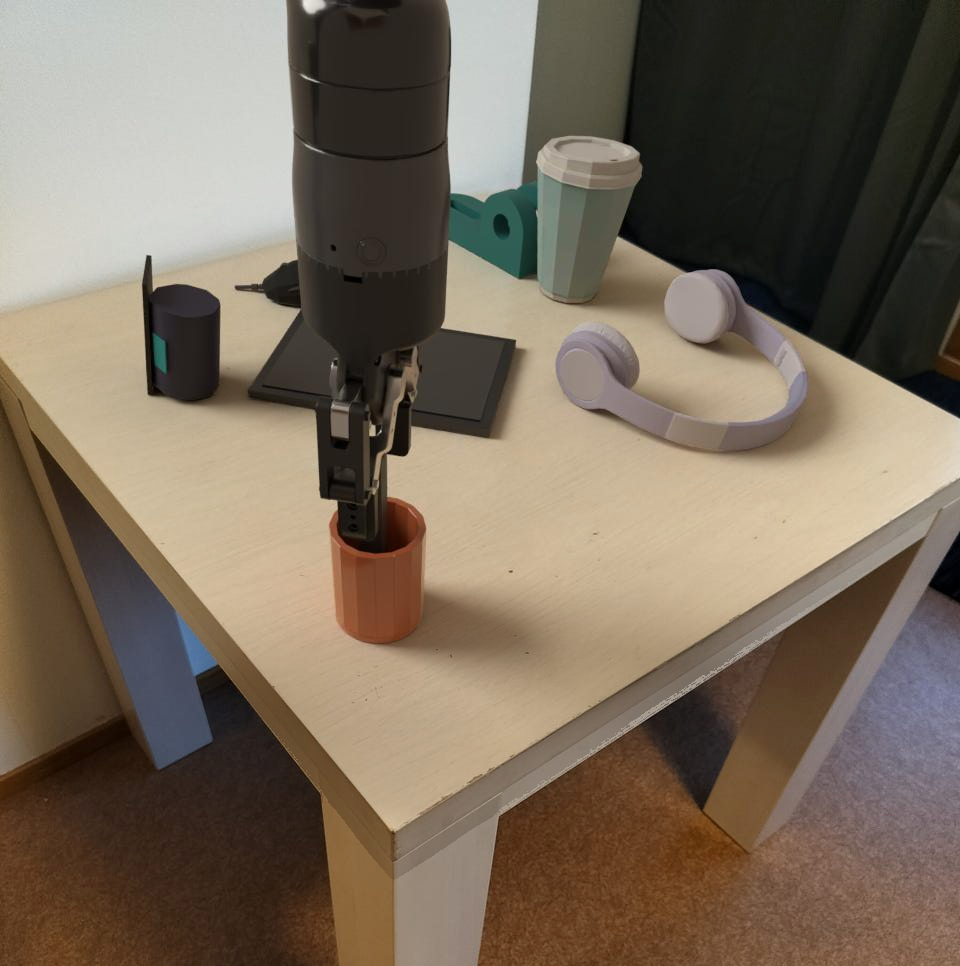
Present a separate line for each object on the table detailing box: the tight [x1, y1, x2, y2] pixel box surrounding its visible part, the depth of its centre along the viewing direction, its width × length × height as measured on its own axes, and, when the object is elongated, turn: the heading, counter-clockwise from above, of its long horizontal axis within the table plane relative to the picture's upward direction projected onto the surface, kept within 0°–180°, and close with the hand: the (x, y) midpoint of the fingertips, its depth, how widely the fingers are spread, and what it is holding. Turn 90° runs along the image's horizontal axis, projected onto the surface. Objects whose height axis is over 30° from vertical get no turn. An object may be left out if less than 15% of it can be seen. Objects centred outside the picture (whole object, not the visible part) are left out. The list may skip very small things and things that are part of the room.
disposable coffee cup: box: [535, 135, 643, 304], centre depth 93 cm, size 11×11×15 cm
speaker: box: [141, 254, 222, 401], centre depth 78 cm, size 8×6×10 cm
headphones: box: [554, 269, 809, 451], centre depth 84 cm, size 22×7×20 cm
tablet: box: [247, 309, 517, 439], centre depth 85 cm, size 22×16×1 cm
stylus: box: [358, 452, 388, 554], centre depth 59 cm, size 2×2×13 cm
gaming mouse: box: [234, 259, 301, 307], centre depth 93 cm, size 6×15×4 cm, turn 88°
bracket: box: [449, 180, 538, 280], centre depth 103 cm, size 18×7×8 cm, turn 42°
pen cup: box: [328, 496, 427, 644], centre depth 61 cm, size 6×6×8 cm
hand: (376, 491), depth 56 cm, fingers open, 8 cm apart
